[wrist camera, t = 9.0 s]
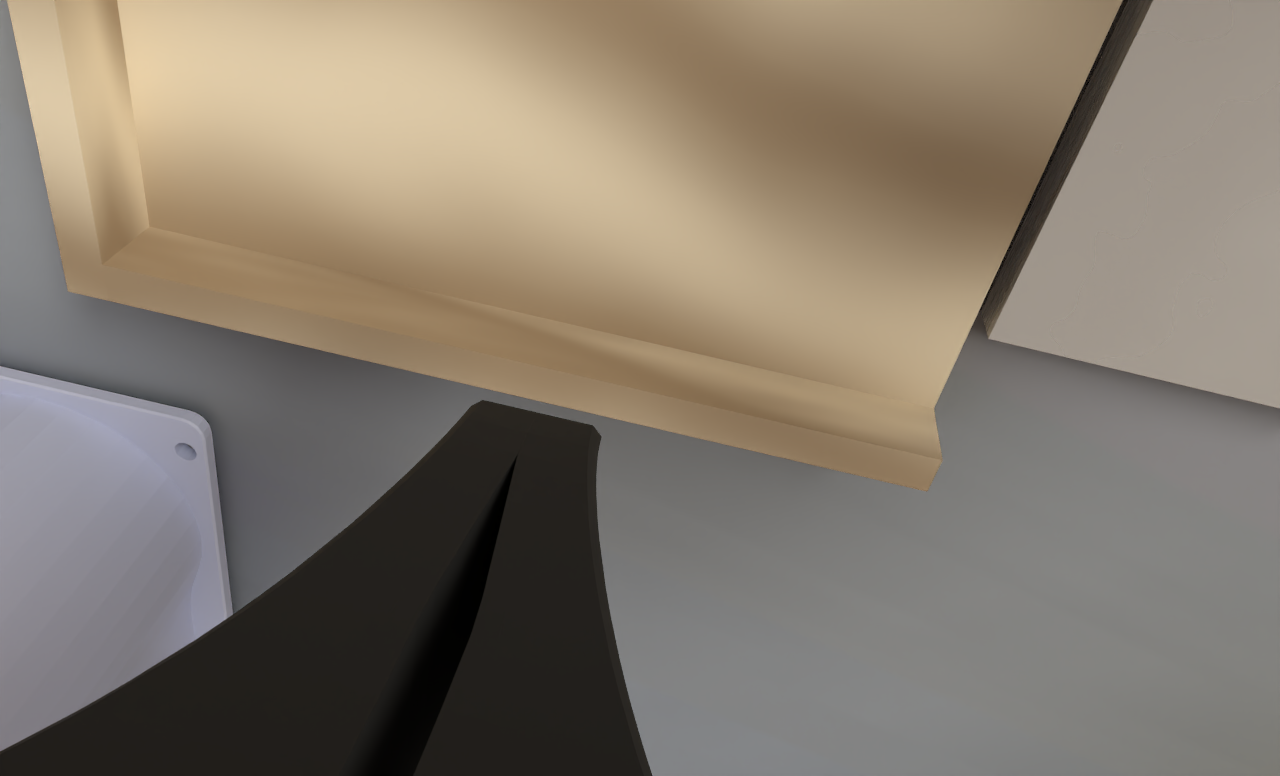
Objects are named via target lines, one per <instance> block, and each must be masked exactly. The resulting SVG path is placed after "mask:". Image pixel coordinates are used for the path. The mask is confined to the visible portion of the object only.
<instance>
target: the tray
mask: <svg viewBox="0 0 1280 776" xmlns="http://www.w3.org/2000/svg"><path fill="white" fill-rule="evenodd" d="M1122 1H1123V0H7V2H8V7H9V11H10V16H11V21H12V26H13V30H14V35H15V40H16V45H17V50H18V54H19V59H20V64H21V69H22V73H23V78H24V83H25V88H26V93H27V97H28V102H29V107H30V112H31V116H32V121H33V126H34V131H35V136H36V140H37V145H38V150H39V155H40V159H41V164H42V169H43V174H44V178H45V183H46V188H47V193H48V198H49V202H50V207H51V212H52V217H53V221H54V226H55V231H56V236H57V241H58V245H59V250H60V255H61V260H62V264H63V269H64V274H65V279H66V284H67V288H68V291H69V292H73V293H77V294H82V295H86V296H90V297H94V298H99V299H103V300H107V301H112V302H116V303H120V304H124V305H129V306H133V307H137V308H142V309H146V310H150V311H154V312H159V313H163V314H167V315H172V316H176V317H180V318H185V319H189V320H193V321H197V322H202V323H206V324H210V325H215V326H219V327H223V328H227V329H232V330H236V331H240V332H245V333H249V334H253V335H257V336H262V337H266V338H270V339H275V340H279V341H283V342H288V343H292V344H296V345H300V346H305V347H309V348H313V349H318V350H322V351H326V352H330V353H335V354H339V355H343V356H348V357H352V358H356V359H360V360H365V361H369V362H373V363H378V364H382V365H386V366H391V367H395V368H399V369H403V370H408V371H412V372H416V373H421V374H425V375H429V376H433V377H438V378H442V379H446V380H451V381H455V382H459V383H463V384H468V385H472V386H476V387H481V388H485V389H489V390H494V391H498V392H502V393H506V394H511V395H515V396H519V397H524V398H528V399H532V400H536V401H541V402H545V403H549V404H554V405H558V406H562V407H567V408H571V409H575V410H579V411H584V412H588V413H592V414H597V415H601V416H605V417H609V418H614V419H618V420H622V421H627V422H631V423H635V424H639V425H644V426H648V427H652V428H657V429H661V430H665V431H670V432H674V433H678V434H682V435H687V436H691V437H695V438H700V439H704V440H708V441H712V442H717V443H721V444H725V445H730V446H734V447H738V448H742V449H747V450H751V451H755V452H760V453H764V454H768V455H773V456H777V457H781V458H785V459H790V460H794V461H798V462H803V463H807V464H811V465H815V466H820V467H824V468H828V469H833V470H837V471H841V472H845V473H850V474H854V475H858V476H863V477H867V478H871V479H876V480H880V481H884V482H888V483H893V484H897V485H901V486H906V487H910V488H914V489H918V490H923V491H928V489H929V487H930V485H931V483H932V481H933V479H934V477H935V475H936V473H937V471H938V469H939V467H940V464H941V462H942V454H941V448H940V442H939V436H938V430H937V424H936V419H935V413H934V407H935V405H936V403H937V401H938V398H939V396H940V394H941V392H942V390H943V388H944V386H945V383H946V381H947V379H948V377H949V375H950V373H951V370H952V368H953V366H954V364H955V362H956V360H957V357H958V355H959V353H960V351H961V349H962V347H963V344H964V342H965V340H966V338H967V336H968V334H969V331H970V329H971V327H972V325H973V323H974V321H975V319H976V316H977V314H978V312H979V310H980V308H981V306H982V303H983V301H984V299H985V297H986V295H987V293H988V290H989V288H990V286H991V284H992V282H993V280H994V277H995V275H996V273H997V271H998V269H999V267H1000V264H1001V262H1002V260H1003V258H1004V256H1005V254H1006V252H1007V249H1008V247H1009V245H1010V243H1011V241H1012V239H1013V236H1014V234H1015V232H1016V230H1017V228H1018V226H1019V223H1020V221H1021V219H1022V217H1023V215H1024V213H1025V210H1026V208H1027V206H1028V204H1029V202H1030V200H1031V197H1032V195H1033V193H1034V191H1035V189H1036V187H1037V185H1038V182H1039V180H1040V178H1041V176H1042V174H1043V172H1044V169H1045V167H1046V165H1047V163H1048V161H1049V159H1050V156H1051V154H1052V152H1053V150H1054V148H1055V146H1056V143H1057V141H1058V139H1059V137H1060V135H1061V133H1062V130H1063V128H1064V126H1065V124H1066V122H1067V120H1068V118H1069V115H1070V113H1071V111H1072V109H1073V107H1074V105H1075V102H1076V100H1077V98H1078V96H1079V94H1080V92H1081V89H1082V87H1083V85H1084V83H1085V81H1086V79H1087V76H1088V74H1089V72H1090V70H1091V68H1092V66H1093V63H1094V61H1095V59H1096V57H1097V55H1098V53H1099V51H1100V48H1101V46H1102V44H1103V42H1104V40H1105V38H1106V35H1107V33H1108V31H1109V29H1110V27H1111V25H1112V22H1113V20H1114V18H1115V16H1116V14H1117V12H1118V9H1119V7H1120V5H1121V3H1122Z"/></svg>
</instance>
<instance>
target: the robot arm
mask: <svg viewBox="0 0 1280 776" xmlns="http://www.w3.org/2000/svg"><path fill="white" fill-rule="evenodd" d="M600 440H601V436H600V434H599V433H598V432H597V430H596V429H595V427H594V426H592V425H588V424H584V423H579V422H575V421H571V420H566V419H562V418H558V417H553V416H549V415H545V414H540V413H536V412H532V411H528V410H523V409H519V408H515V407H510V406H506V405H502V404H497V403H493V402H489V401H484V400H482V401H480V402H478V403H476V404H474V405H472V406H471V407H470V408H469V409H468V410H467V412H466V413H465V414H464V415H463V416H462V417H461V419H460V420H459V421H458V422H457V423H456V424H455V425H454V426H453V427H452V428H451V429H450V431H449V432H448V433H447V434H446V435H445V436H444V437H443V438H442V439H441V440H440V441H439V442H438V443H437V444H436V445H435V446H434V447H433V448H432V449H431V450H430V451H429V452H428V453H427V454H426V455H425V456H424V457H423V458H422V459H421V460H420V461H419V462H418V463H417V464H416V465H415V466H414V467H413V468H412V469H411V470H410V471H409V472H408V473H407V474H406V475H405V476H404V477H403V478H402V479H400V480H399V481H398V482H397V483H396V484H395V485H394V486H393V487H392V488H391V489H389V490H388V491H387V492H386V493H385V494H384V495H383V496H382V497H381V498H380V499H378V500H377V501H376V502H375V503H374V504H373V505H372V506H371V507H370V508H369V509H367V510H366V511H365V512H364V513H363V514H362V515H361V516H360V517H358V518H357V519H356V520H355V521H354V522H353V523H351V524H350V525H349V526H348V527H347V528H346V529H344V530H343V531H342V532H341V533H339V534H338V535H337V536H336V537H334V538H333V539H332V540H331V541H329V542H328V543H327V544H326V545H324V546H323V547H322V548H321V549H319V550H318V551H317V552H316V553H315V554H313V555H312V556H311V557H310V558H308V559H307V560H306V561H305V562H303V563H302V564H301V565H300V566H298V567H297V568H296V569H295V570H293V571H292V572H291V573H290V574H288V575H287V576H286V577H284V578H283V579H282V580H280V581H279V582H278V583H276V584H275V585H273V586H272V587H271V588H269V589H268V590H267V591H265V592H264V593H263V594H261V595H260V596H259V597H257V598H256V599H254V600H253V601H252V602H250V603H249V604H247V605H246V606H245V607H243V608H242V609H240V610H239V611H237V612H236V613H234V614H233V610H232V601H231V593H230V584H229V575H228V567H227V558H226V550H225V541H224V532H223V524H222V515H221V507H220V498H219V490H218V481H217V472H216V464H215V455H214V447H213V438H212V431H211V428H210V425H209V424H208V422H207V421H206V420H205V419H204V418H203V417H202V416H200V415H199V414H198V413H195V412H192V411H190V410H185V409H181V408H177V407H173V406H168V405H164V404H160V403H156V402H151V401H147V400H143V399H138V398H134V397H130V396H126V395H121V394H117V393H113V392H109V391H104V390H100V389H96V388H91V387H87V386H83V385H79V384H74V383H70V382H66V381H62V380H57V379H53V378H49V377H44V376H40V375H36V374H32V373H27V372H23V371H19V370H15V369H10V368H6V367H2V366H0V776H652V773H651V770H650V767H649V764H648V761H647V758H646V755H645V751H644V748H643V745H642V742H641V738H640V735H639V731H638V728H637V724H636V721H635V717H634V714H633V710H632V707H631V703H630V699H629V696H628V692H627V688H626V684H625V680H624V676H623V671H622V667H621V663H620V659H619V654H618V650H617V645H616V640H615V635H614V630H613V625H612V621H611V616H610V610H609V604H608V599H607V593H606V587H605V579H604V572H603V564H602V557H601V549H600V542H599V532H598V520H597V500H596V469H597V457H598V450H599V445H600ZM187 444H188V445H190V446H191V447H192V448H191V447H189V446H188V445H187Z"/></svg>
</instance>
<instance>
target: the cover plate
mask: <svg viewBox="0 0 1280 776" xmlns="http://www.w3.org/2000/svg"><path fill="white" fill-rule="evenodd" d="M981 313H982V317H983V321H984V324H985V328H986V332H987V336H988V339H992V340H996V341H1000V342H1004V343H1008V344H1013V345H1017V346H1021V347H1025V348H1029V349H1034V350H1038V351H1042V352H1046V353H1050V354H1054V355H1059V356H1063V357H1067V358H1071V359H1075V360H1080V361H1084V362H1088V363H1092V364H1096V365H1100V366H1105V367H1109V368H1113V369H1117V370H1121V371H1126V372H1130V373H1134V374H1138V375H1142V376H1146V377H1151V378H1155V379H1159V380H1163V381H1167V382H1172V383H1176V384H1180V385H1184V386H1188V387H1193V388H1197V389H1201V390H1205V391H1209V392H1213V393H1218V394H1222V395H1226V396H1230V397H1234V398H1239V399H1243V400H1247V401H1251V402H1255V403H1259V404H1264V405H1268V406H1272V407H1276V408H1280V0H1128V1H1127V3H1126V6H1125V8H1124V10H1123V12H1122V14H1121V16H1120V18H1119V20H1118V23H1117V25H1116V27H1115V29H1114V31H1113V33H1112V35H1111V37H1110V39H1109V42H1108V44H1107V46H1106V48H1105V50H1104V52H1103V54H1102V56H1101V58H1100V61H1099V63H1098V65H1097V67H1096V69H1095V71H1094V73H1093V75H1092V78H1091V80H1090V82H1089V84H1088V86H1087V88H1086V90H1085V92H1084V94H1083V97H1082V99H1081V101H1080V103H1079V105H1078V107H1077V109H1076V111H1075V113H1074V116H1073V118H1072V120H1071V122H1070V124H1069V126H1068V128H1067V130H1066V132H1065V135H1064V137H1063V139H1062V141H1061V143H1060V145H1059V147H1058V149H1057V152H1056V154H1055V156H1054V158H1053V160H1052V162H1051V164H1050V166H1049V168H1048V171H1047V173H1046V175H1045V177H1044V179H1043V181H1042V183H1041V185H1040V187H1039V190H1038V192H1037V194H1036V196H1035V198H1034V200H1033V202H1032V204H1031V207H1030V209H1029V211H1028V213H1027V215H1026V217H1025V219H1024V221H1023V223H1022V226H1021V228H1020V230H1019V232H1018V234H1017V236H1016V238H1015V240H1014V242H1013V245H1012V247H1011V249H1010V251H1009V253H1008V255H1007V257H1006V259H1005V262H1004V264H1003V266H1002V268H1001V270H1000V272H999V274H998V276H997V278H996V281H995V283H994V285H993V287H992V289H991V291H990V293H989V295H988V297H987V300H986V302H985V304H984V306H983V308H982V310H981Z"/></svg>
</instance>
